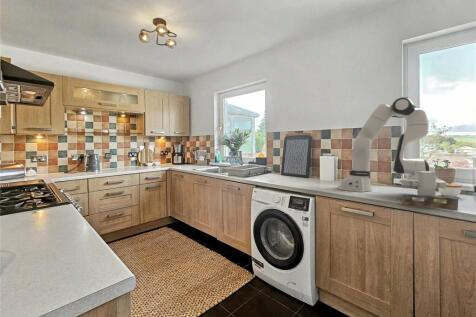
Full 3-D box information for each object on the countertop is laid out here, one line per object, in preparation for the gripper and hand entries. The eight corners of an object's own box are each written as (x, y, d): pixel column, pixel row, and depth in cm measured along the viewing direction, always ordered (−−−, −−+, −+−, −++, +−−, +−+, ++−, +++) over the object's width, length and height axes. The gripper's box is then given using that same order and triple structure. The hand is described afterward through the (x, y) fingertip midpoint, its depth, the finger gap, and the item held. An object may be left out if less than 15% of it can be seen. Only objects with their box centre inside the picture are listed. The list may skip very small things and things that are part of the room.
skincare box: (435, 200, 120) (437, 172, 119) (421, 199, 122) (423, 172, 121) (429, 196, 128) (430, 170, 127) (416, 195, 130) (417, 170, 129)
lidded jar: (437, 193, 149) (437, 179, 148) (459, 196, 142) (460, 181, 142) (438, 196, 141) (438, 181, 140) (462, 199, 134) (462, 183, 133)
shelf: (404, 204, 122) (404, 194, 122) (399, 198, 135) (399, 189, 135) (458, 209, 112) (458, 198, 112) (447, 203, 125) (447, 193, 125)
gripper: (398, 175, 141) (403, 178, 129) (441, 177, 132) (450, 181, 119) (398, 185, 141) (402, 189, 129) (440, 188, 132) (449, 192, 120)
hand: (426, 185), depth 124 cm, fingers closed on skincare box, 6 cm apart
